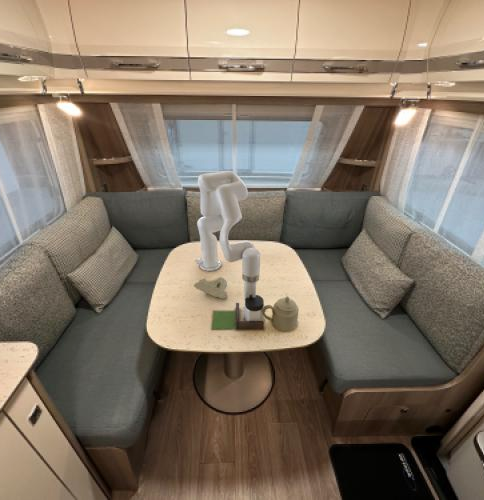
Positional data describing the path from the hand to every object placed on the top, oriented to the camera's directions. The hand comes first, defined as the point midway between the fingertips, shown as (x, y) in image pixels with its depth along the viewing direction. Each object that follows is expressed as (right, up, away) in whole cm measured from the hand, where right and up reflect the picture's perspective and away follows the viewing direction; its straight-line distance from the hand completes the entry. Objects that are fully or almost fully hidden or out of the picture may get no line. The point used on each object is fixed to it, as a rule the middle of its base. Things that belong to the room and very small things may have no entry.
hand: (249, 306), depth 126 cm
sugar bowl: (+14, -7, -7) cm, 17 cm away
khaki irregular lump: (-19, +3, +10) cm, 22 cm away
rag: (-12, -5, -4) cm, 14 cm away
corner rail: (0, -5, -4) cm, 7 cm away
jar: (+2, -5, -5) cm, 7 cm away
